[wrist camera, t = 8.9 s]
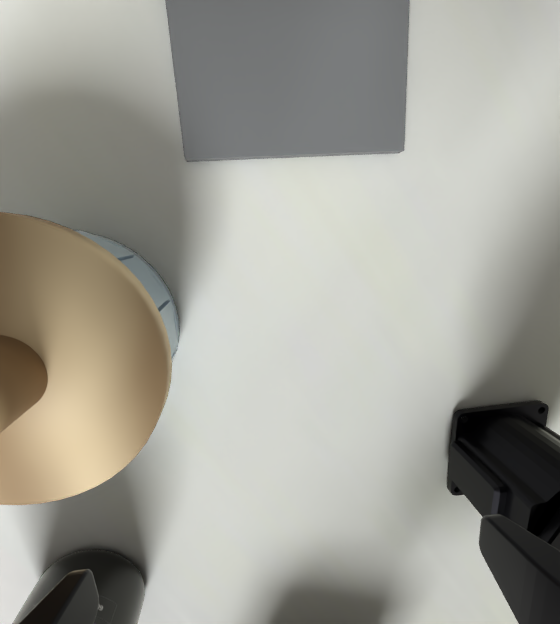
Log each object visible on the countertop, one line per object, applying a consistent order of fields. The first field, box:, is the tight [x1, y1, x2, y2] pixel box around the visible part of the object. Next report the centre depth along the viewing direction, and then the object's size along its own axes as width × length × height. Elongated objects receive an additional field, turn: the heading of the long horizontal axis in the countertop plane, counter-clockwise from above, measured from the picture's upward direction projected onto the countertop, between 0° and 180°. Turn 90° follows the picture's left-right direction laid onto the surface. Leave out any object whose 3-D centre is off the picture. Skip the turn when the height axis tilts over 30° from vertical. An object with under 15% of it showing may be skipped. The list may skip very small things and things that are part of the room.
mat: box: [165, 0, 409, 162], centre depth 15 cm, size 11×11×1 cm
